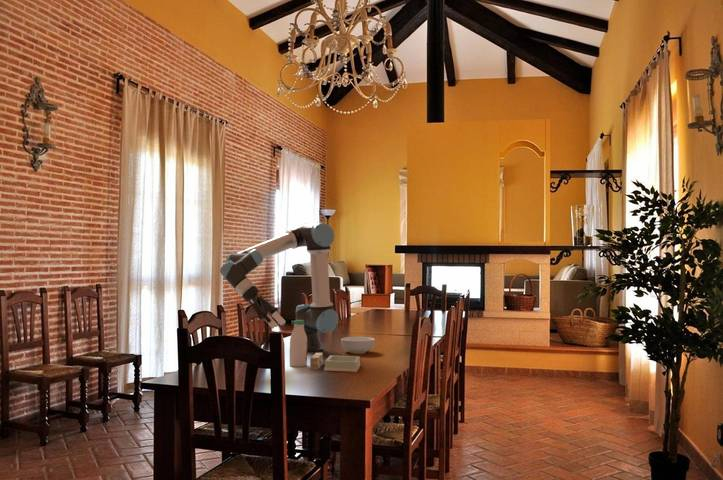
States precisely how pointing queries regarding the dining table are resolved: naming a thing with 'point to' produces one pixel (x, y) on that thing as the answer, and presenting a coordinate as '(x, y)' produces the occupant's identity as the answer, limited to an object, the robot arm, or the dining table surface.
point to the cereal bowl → (357, 344)
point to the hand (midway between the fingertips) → (279, 325)
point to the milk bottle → (298, 345)
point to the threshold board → (316, 361)
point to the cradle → (342, 363)
